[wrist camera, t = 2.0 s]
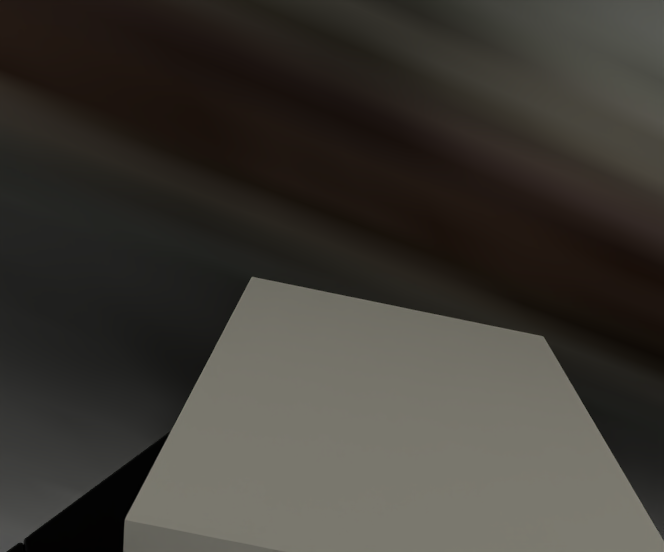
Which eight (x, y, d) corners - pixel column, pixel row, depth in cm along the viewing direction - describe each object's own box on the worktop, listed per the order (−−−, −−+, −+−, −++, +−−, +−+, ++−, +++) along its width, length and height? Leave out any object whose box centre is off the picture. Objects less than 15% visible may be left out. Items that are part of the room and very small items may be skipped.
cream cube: (543, 335, 9) (721, 638, 4) (458, 542, 11) (519, 896, 6) (252, 276, 9) (124, 519, 4) (220, 494, 11) (110, 818, 6)
